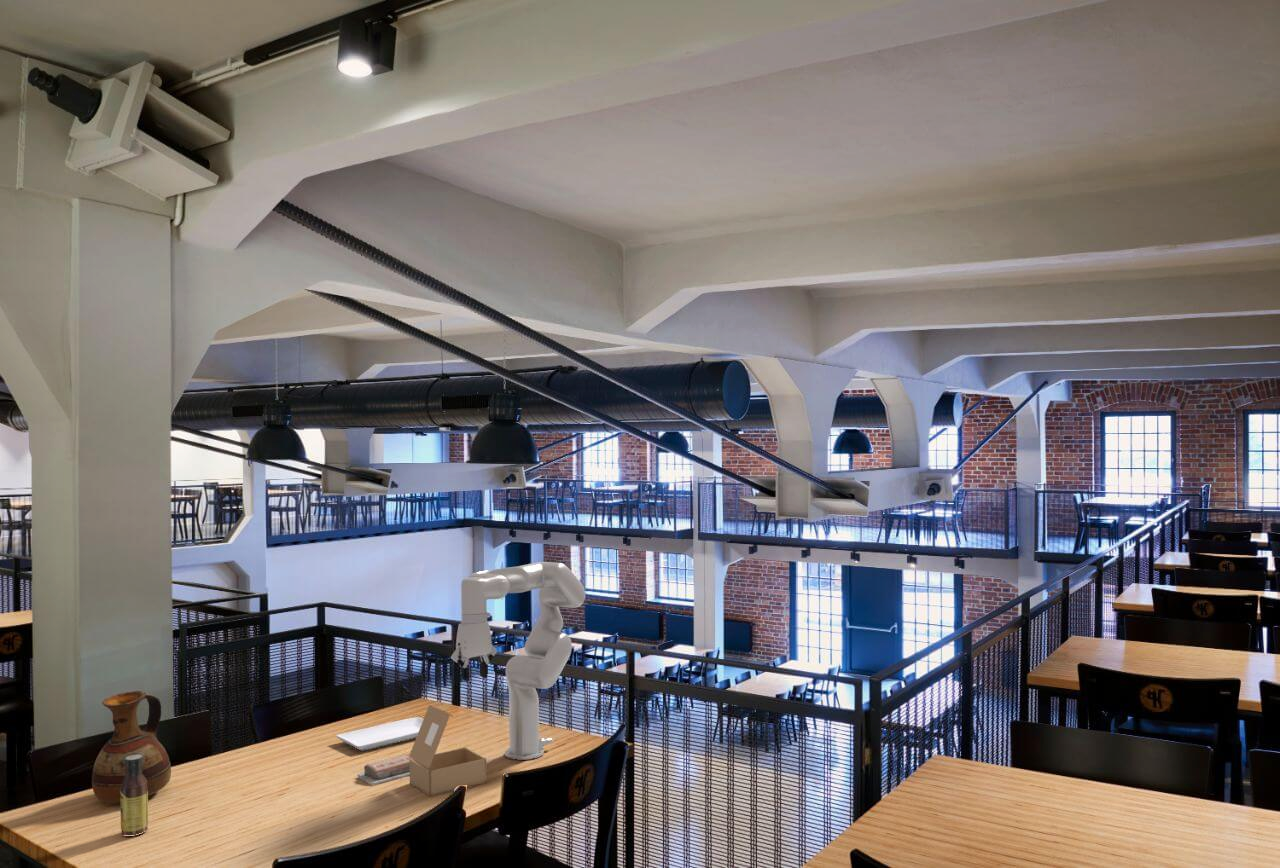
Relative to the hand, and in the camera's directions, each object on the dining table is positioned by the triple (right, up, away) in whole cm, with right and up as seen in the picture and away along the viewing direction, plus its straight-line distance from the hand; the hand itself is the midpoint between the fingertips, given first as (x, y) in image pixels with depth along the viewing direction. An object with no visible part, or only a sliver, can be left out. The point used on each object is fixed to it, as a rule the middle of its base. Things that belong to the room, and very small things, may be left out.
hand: (474, 678), depth 281 cm
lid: (-10, -15, -8) cm, 20 cm away
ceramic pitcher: (-96, -31, -13) cm, 102 cm away
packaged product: (-26, -31, +2) cm, 40 cm away
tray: (-36, -32, +38) cm, 61 cm away
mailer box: (-7, -29, -6) cm, 31 cm away
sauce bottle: (-81, -30, -41) cm, 95 cm away
